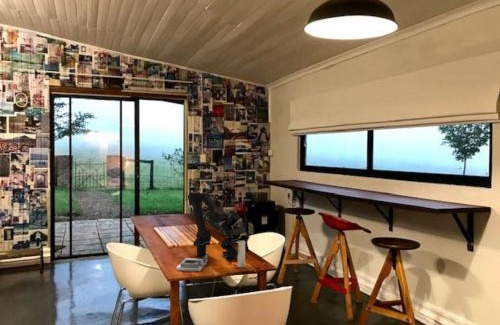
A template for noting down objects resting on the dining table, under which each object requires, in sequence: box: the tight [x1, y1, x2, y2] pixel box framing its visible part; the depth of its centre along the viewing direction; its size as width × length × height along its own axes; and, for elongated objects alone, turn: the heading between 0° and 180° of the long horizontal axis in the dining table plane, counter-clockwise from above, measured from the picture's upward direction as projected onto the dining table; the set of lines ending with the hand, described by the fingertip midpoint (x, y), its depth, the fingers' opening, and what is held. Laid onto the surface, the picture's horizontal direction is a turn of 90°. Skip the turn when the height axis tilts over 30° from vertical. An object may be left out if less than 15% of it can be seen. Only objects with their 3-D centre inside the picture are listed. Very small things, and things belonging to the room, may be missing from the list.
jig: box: [175, 253, 209, 272], centre depth 226 cm, size 19×13×4 cm
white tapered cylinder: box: [237, 241, 246, 268], centre depth 227 cm, size 4×4×14 cm
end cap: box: [222, 248, 238, 261], centre depth 245 cm, size 10×7×7 cm
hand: (242, 253), depth 226 cm, fingers open, 9 cm apart
